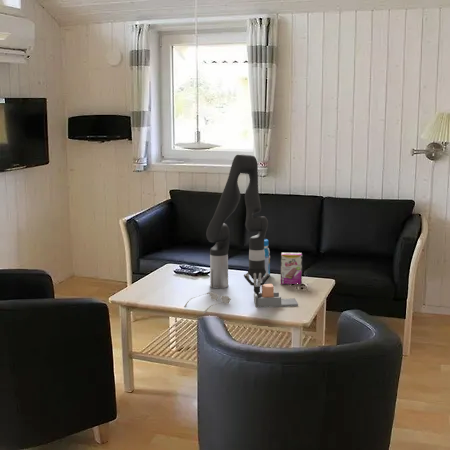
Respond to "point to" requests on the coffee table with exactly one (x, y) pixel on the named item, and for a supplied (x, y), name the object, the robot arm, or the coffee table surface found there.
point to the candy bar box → (291, 268)
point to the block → (267, 290)
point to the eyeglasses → (215, 297)
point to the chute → (273, 301)
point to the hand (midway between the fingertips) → (257, 293)
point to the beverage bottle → (267, 256)
